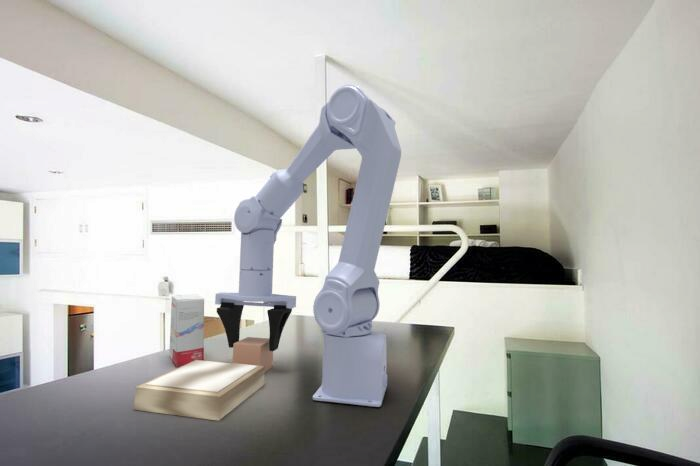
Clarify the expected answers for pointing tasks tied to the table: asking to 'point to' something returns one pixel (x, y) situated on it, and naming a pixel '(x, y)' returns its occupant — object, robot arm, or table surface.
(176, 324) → the ink box
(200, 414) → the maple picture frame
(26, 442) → the table surface
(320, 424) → the table surface
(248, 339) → the terracotta cube
